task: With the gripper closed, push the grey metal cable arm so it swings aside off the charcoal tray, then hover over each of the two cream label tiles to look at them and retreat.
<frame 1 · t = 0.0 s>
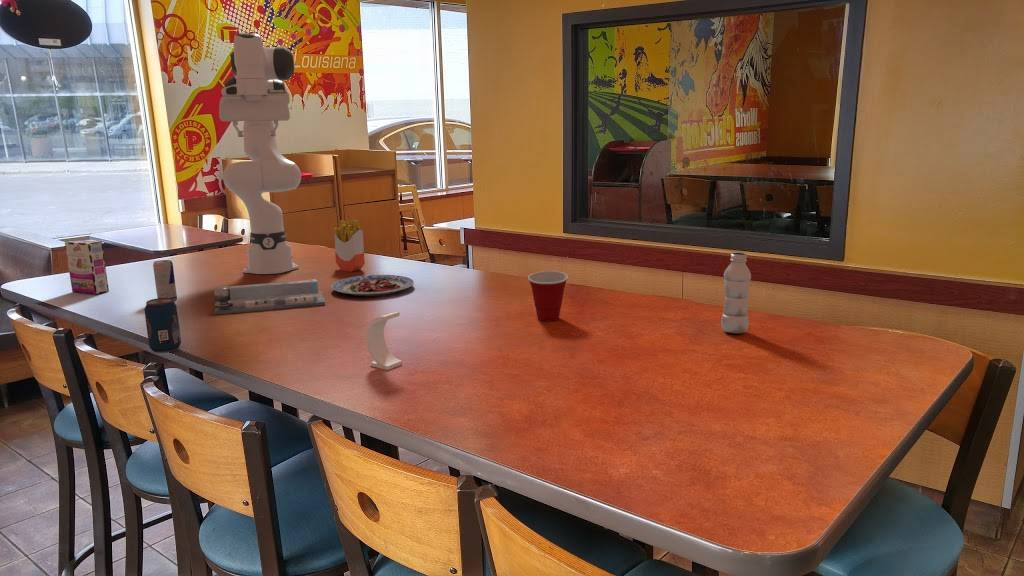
hand: (257, 136, 219), 48 cm above the table, tool pointing down, fingers open, 8 cm apart
energy drink: (167, 301, 219), on the table
ceramic plate: (373, 290, 229), on the table
plastic bottle: (733, 333, 180), on the table
cable arm: (266, 290, 211), point 4 cm above the table, hinge at 0.0°
soda can: (166, 350, 172), on the table
plastic cup: (547, 319, 194), on the table
headphone stand: (385, 365, 160), on the table
double power outlet: (271, 304, 213), on the table
french fries container: (350, 270, 259), on the table
candy bar box: (91, 292, 231), on the table
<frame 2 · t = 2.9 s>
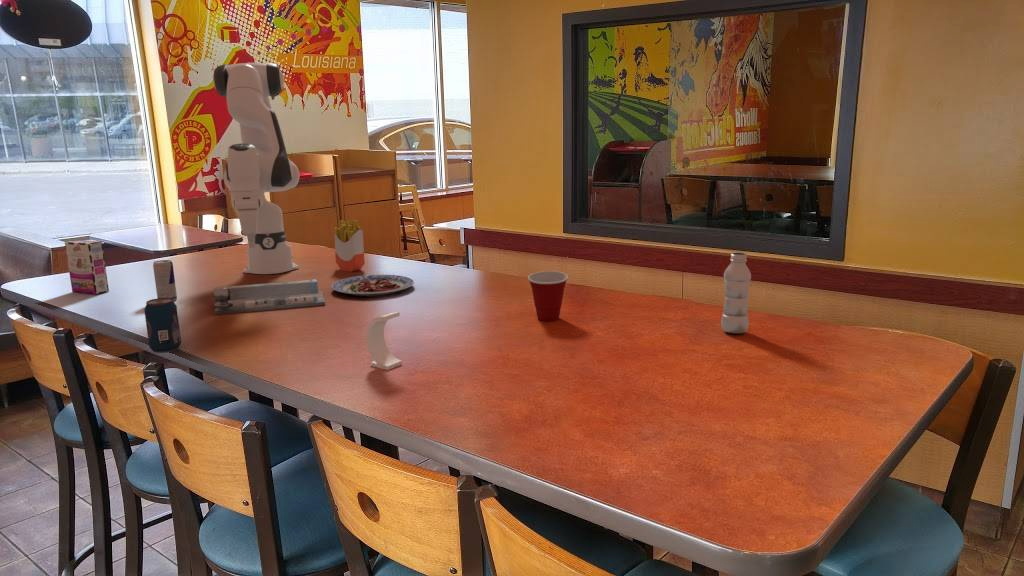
hand: (252, 247, 213), 16 cm above the table, tool pointing down, fingers closed
nothing on the table moved.
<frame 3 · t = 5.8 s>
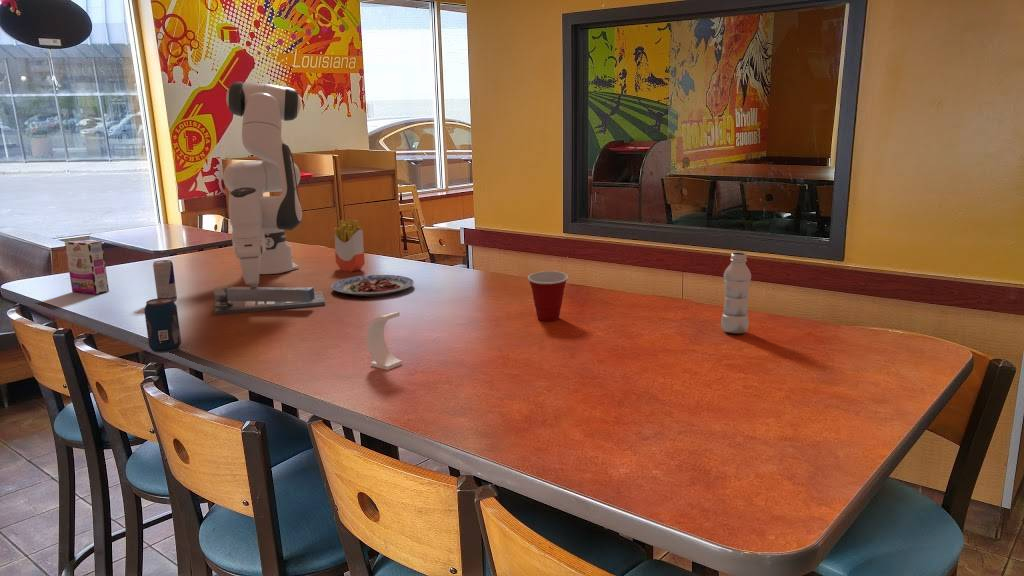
hand: (254, 292, 210), 4 cm above the table, tool pointing down, fingers closed, pressing on cable arm
cable arm: (263, 294, 207), point 4 cm above the table, hinge at 23.3°, touching gripper
everything else where it was.
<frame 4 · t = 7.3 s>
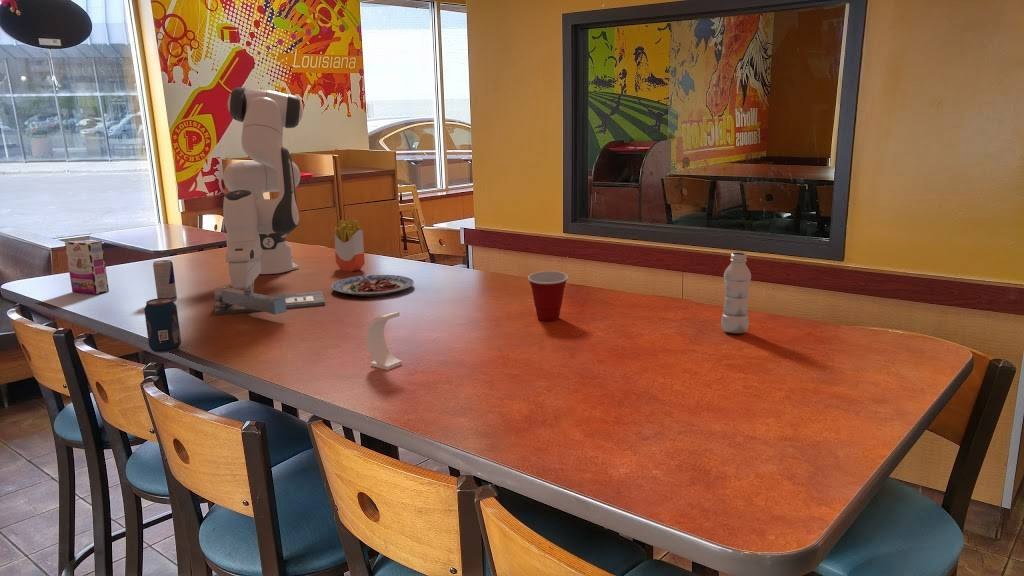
hand: (249, 296, 205), 4 cm above the table, tool pointing down, fingers closed
cable arm: (248, 299, 201), point 4 cm above the table, hinge at 53.8°, touching gripper
everything else where it was.
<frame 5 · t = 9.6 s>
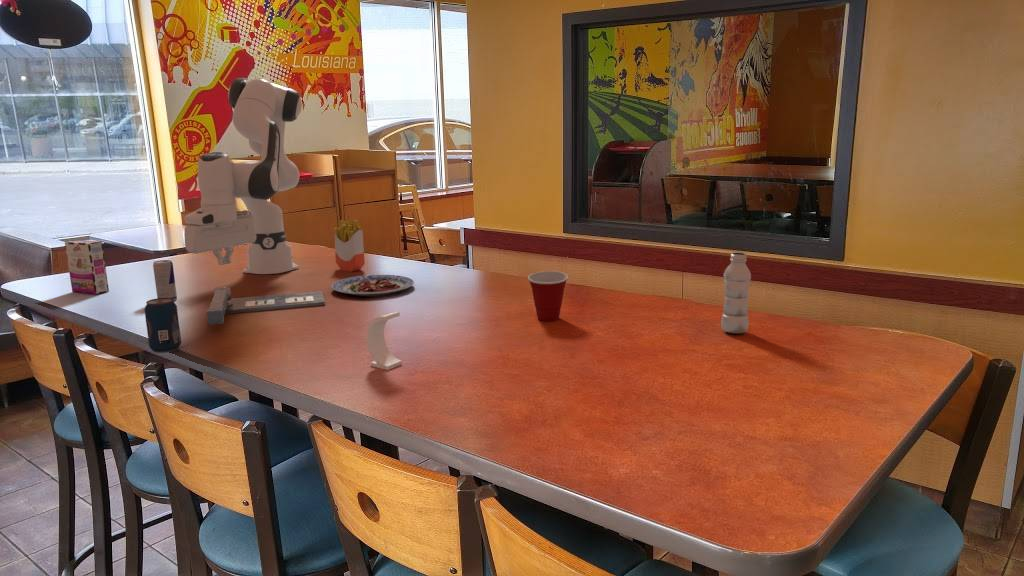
hand: (224, 263, 198), 15 cm above the table, tool pointing down, fingers closed
cable arm: (219, 304, 197), point 4 cm above the table, hinge at 90.6°
everything else where it was.
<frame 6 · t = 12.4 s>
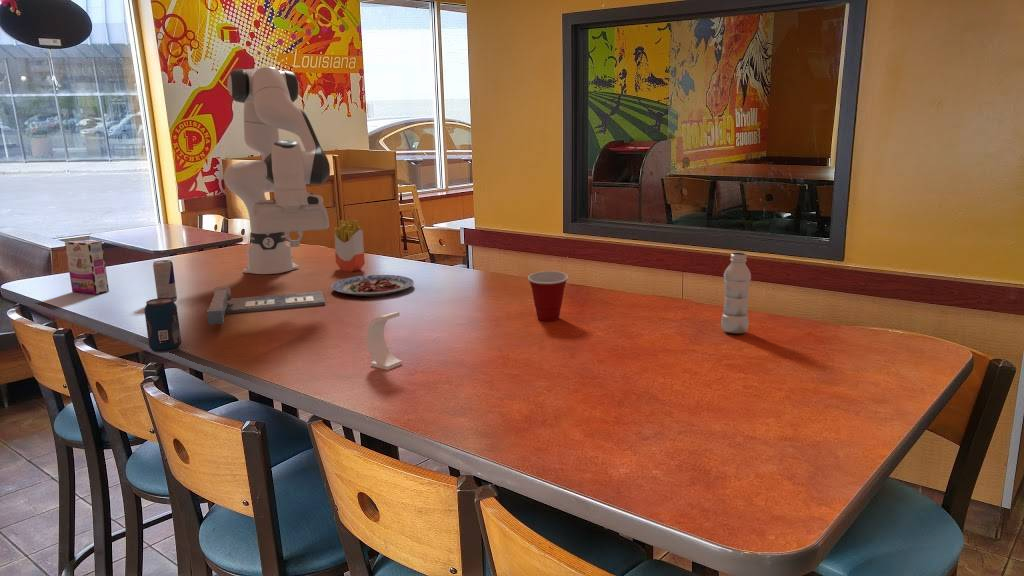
hand: (295, 246, 209), 17 cm above the table, tool pointing down, fingers closed
nothing on the table moved.
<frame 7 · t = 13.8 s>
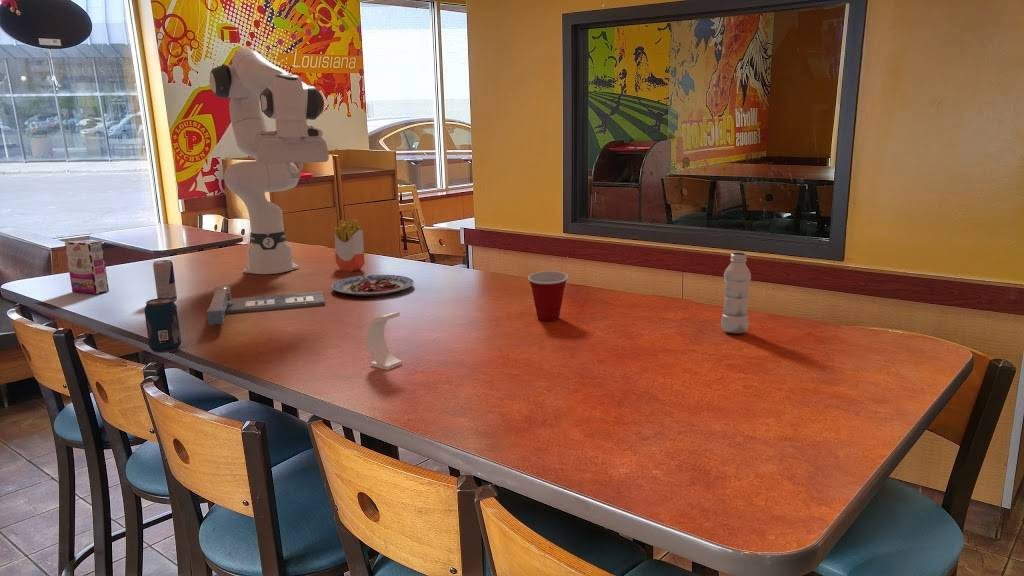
hand: (295, 178, 216), 36 cm above the table, tool pointing down, fingers closed
nothing on the table moved.
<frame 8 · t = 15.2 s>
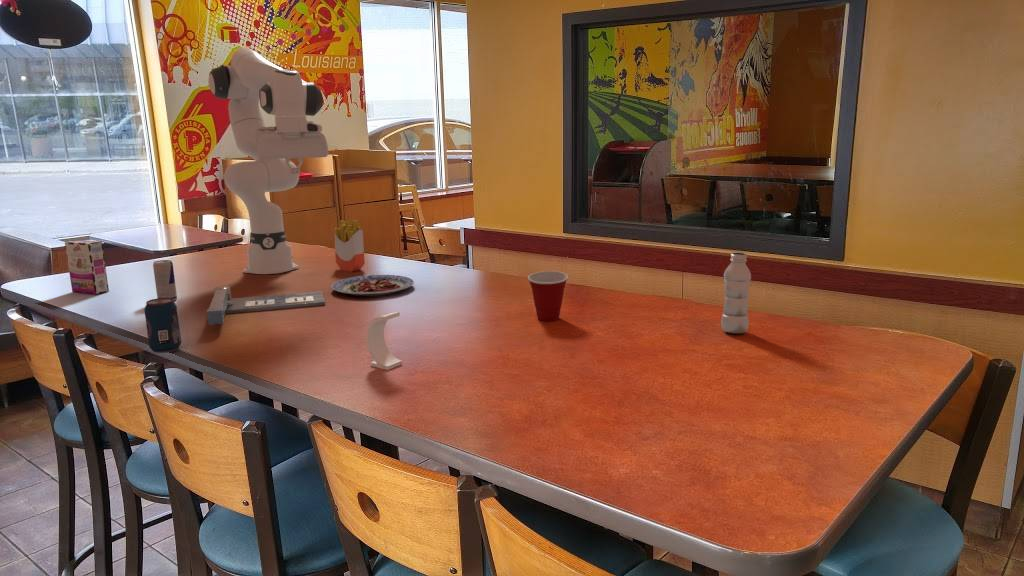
hand: (295, 173, 216), 37 cm above the table, tool pointing down, fingers closed
nothing on the table moved.
at the end: cable arm at +91° (first picture: +0°); the gripper is holding nothing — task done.
